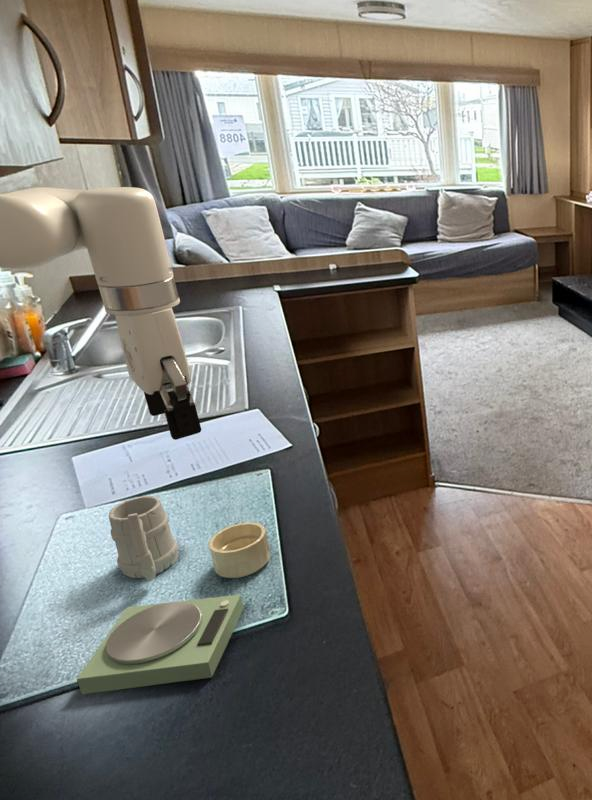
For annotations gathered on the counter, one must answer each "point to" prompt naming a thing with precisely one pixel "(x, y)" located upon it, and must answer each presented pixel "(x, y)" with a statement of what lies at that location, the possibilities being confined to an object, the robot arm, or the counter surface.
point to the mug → (142, 537)
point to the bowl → (239, 550)
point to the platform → (154, 632)
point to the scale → (176, 666)
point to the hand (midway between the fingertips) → (175, 423)
